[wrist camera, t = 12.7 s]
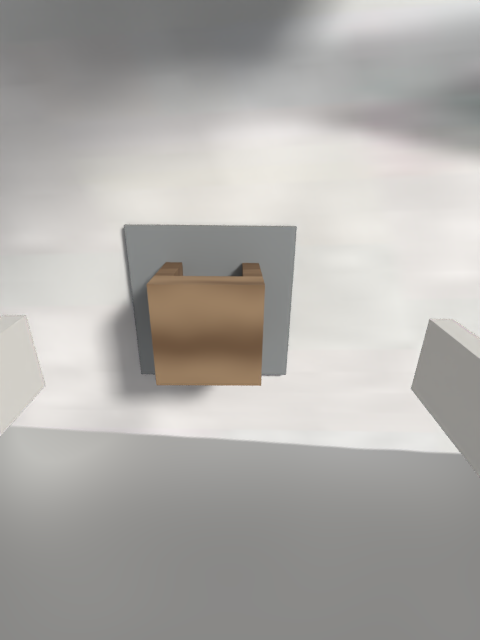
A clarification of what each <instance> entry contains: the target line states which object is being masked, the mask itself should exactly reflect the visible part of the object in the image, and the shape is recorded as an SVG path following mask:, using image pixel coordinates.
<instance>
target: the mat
mask: <svg viewBox="0 0 480 640" xmlns="http://www.w3.org/2000/svg"><path fill="white" fill-rule="evenodd" d="M296 229H297V227H296V226H221V225H124V230H125V238H126V247H127V255H128V264H129V272H130V281H131V289H132V297H133V306H134V314H135V323H136V331H137V340H138V348H139V357H140V365H141V373H142V374H155V364H154V354H153V344H152V334H151V324H150V314H149V304H148V294H147V283H148V282H149V281H150V280H151V279H152V277H153V276H154V275H155V274H156V273H157V272H158V271H159V269H160V268H161V267H162V266H163V265H164V264H165V262H182V266H183V276H242V263H259V265H260V269H261V272H262V276H263V280H264V283H265V299H264V324H263V348H262V373H261V375H286V365H287V352H288V338H289V324H290V311H291V297H292V283H293V270H294V256H295V242H296Z"/></svg>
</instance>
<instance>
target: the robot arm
mask: <svg viewBox="0 0 480 640" xmlns="http://www.w3.org/2000/svg"><path fill="white" fill-rule="evenodd" d="M44 387H45V382H44V378H43V375H42V371H41V368H40V364H39V361H38V357H37V353H36V350H35V346H34V343H33V339H32V335H31V332H30V328H29V325H28V321H27V317H26V315H2V316H0V436H1V435H2V434H3V433H4V432H5V430H6V429H7V428H8V427H9V426H10V425H11V424H12V423H13V422H14V420H15V419H16V418H17V417H18V416H19V415H20V414H21V413H22V412H23V410H24V409H25V408H26V407H27V406H28V405H29V404H30V403H31V401H32V400H33V399H34V398H35V397H36V396H37V395H38V394H39V393H40V391H41V390H42V389H43V388H44ZM411 389H412V391H413V392H414V393H415V395H416V396H417V397H418V398H419V400H420V401H421V402H422V404H423V405H424V406H425V408H426V409H427V410H428V411H429V413H430V414H431V415H432V417H433V418H434V419H435V420H436V422H437V423H438V424H439V426H440V427H441V428H442V430H443V431H444V432H445V433H446V435H447V436H448V437H449V439H450V440H451V441H452V442H453V444H454V445H455V446H456V448H457V449H458V450H459V452H460V453H461V454H462V455H463V457H464V458H465V459H466V461H467V462H468V463H469V464H470V466H471V467H472V468H473V470H474V471H475V472H476V474H477V475H478V476H479V477H480V338H479V337H478V336H476V335H475V334H473V333H472V332H471V331H469V330H468V329H466V328H465V327H464V326H462V325H461V324H459V323H458V322H457V321H455V320H454V319H429V323H428V326H427V330H426V334H425V338H424V341H423V345H422V349H421V353H420V357H419V360H418V364H417V368H416V372H415V375H414V379H413V383H412V387H411Z"/></svg>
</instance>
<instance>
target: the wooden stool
mask: <svg viewBox="0 0 480 640" xmlns="http://www.w3.org/2000/svg"><path fill="white" fill-rule="evenodd" d="M147 294H148V304H149V314H150V324H151V334H152V344H153V354H154V364H155V374H156V384H157V385H261V373H262V348H263V324H264V299H265V283H264V280H263V276H262V272H261V269H260V265H259V263H242V276H183V266H182V262H165V264H164V265H163V266H162V267H161V268H160V269H159V271H158V272H157V273H156V274H155V275H154V276H153V277H152V279H151V280H150V281H149V282H148V283H147Z"/></svg>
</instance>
